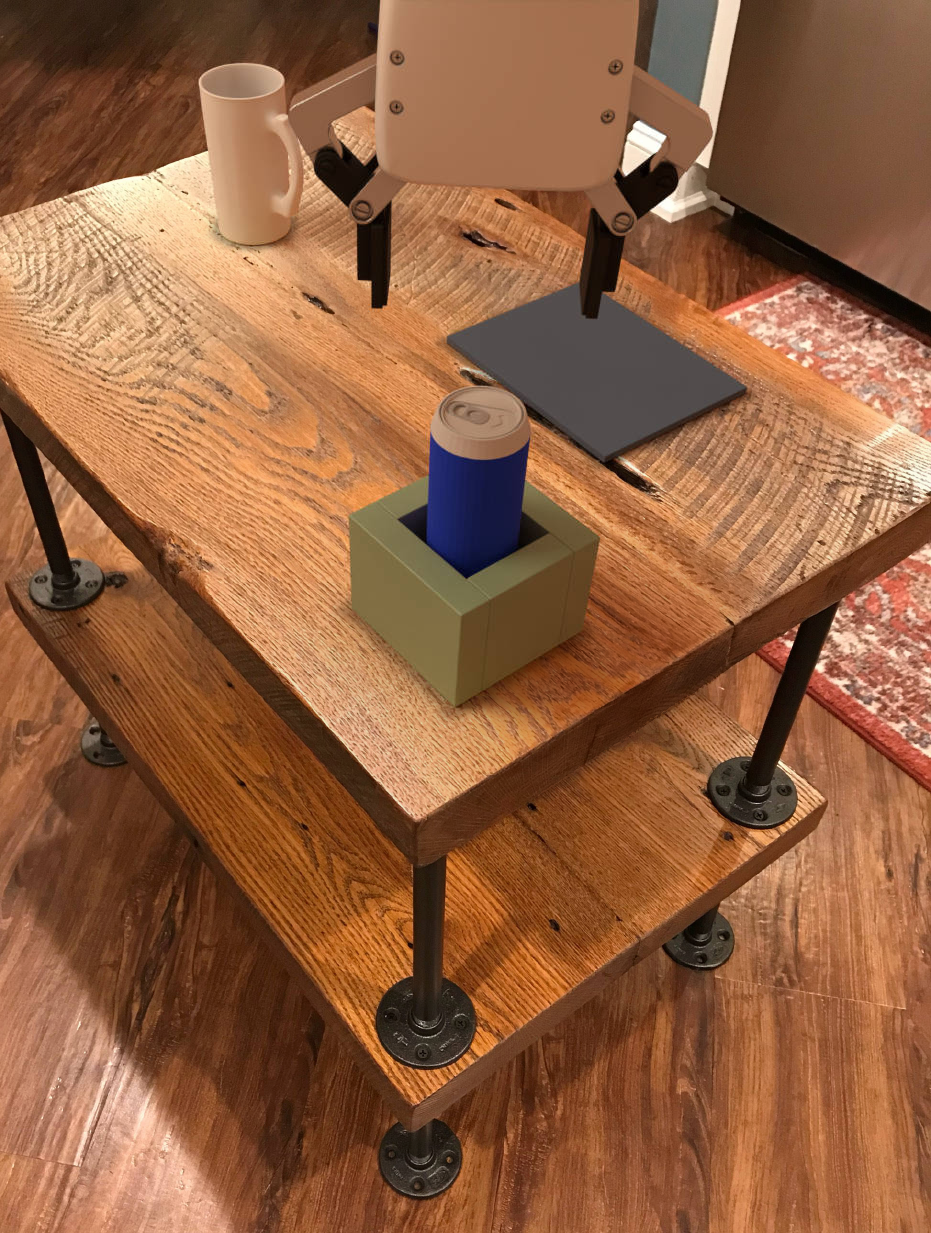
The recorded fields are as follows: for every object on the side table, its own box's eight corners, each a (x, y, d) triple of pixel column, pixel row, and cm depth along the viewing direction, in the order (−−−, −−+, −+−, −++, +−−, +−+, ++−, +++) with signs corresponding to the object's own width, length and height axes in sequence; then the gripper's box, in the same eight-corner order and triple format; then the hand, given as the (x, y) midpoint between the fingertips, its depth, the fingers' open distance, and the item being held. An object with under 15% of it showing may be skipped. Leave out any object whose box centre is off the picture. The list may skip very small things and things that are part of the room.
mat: (745, 393, 84) (747, 386, 84) (604, 463, 79) (605, 456, 79) (582, 286, 94) (583, 279, 93) (446, 342, 88) (446, 335, 88)
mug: (199, 226, 100) (180, 79, 90) (259, 200, 102) (246, 55, 93) (275, 270, 95) (263, 121, 86) (335, 242, 98) (330, 94, 89)
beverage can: (521, 605, 70) (547, 397, 59) (489, 661, 67) (510, 454, 56) (443, 580, 72) (454, 372, 60) (409, 634, 69) (414, 427, 57)
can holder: (475, 541, 74) (483, 447, 68) (582, 630, 69) (600, 537, 63) (351, 608, 70) (347, 514, 64) (454, 708, 65) (461, 615, 59)
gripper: (756, -173, 42) (663, 264, 55) (288, -190, 43) (307, 247, 56) (788, -106, 37) (678, 353, 51) (261, -126, 38) (289, 334, 51)
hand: (484, 297), depth 53 cm, fingers open, 9 cm apart
